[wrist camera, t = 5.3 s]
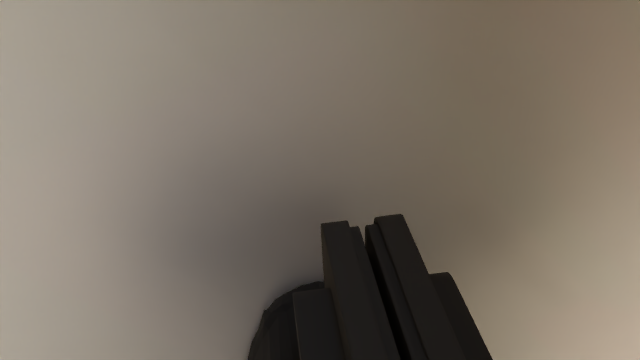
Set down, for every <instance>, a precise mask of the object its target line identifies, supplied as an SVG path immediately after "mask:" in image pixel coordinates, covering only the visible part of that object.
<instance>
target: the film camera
mask: <svg viewBox="0 0 640 360" xmlns="http://www.w3.org/2000/svg"><path fill="white" fill-rule="evenodd" d="M323 288H325V287H324V282H314V283H310V284H306V285H302V286H300V287H298V288H296V289H294V290H292V291H290V292H288V293H286V294H284V295H282V296H281V297H279V298H277V299H275V301H274V302H273V303H272V305H271V306H270V307H269V308H268V309H267V310H264V313H263V316H262V319H261V322H260V325H259V328H258V331H257V333H256V335H255V337H254V339H253V341H252V344H251V348H250V352H249V356H248V360H300V356H299V348H298V339H297V331H296V322H295V312H294V303H293V292H300V291H307V290H315V289H323Z"/></svg>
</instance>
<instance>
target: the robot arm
mask: <svg viewBox="0 0 640 360" xmlns="http://www.w3.org/2000/svg"><path fill="white" fill-rule="evenodd" d="M321 240H322V256H323V271H324V287H325V288H323V289H315V290H307V291H300V292H293V303H294V312H295V322H296V331H297V339H298V348H299V356H300V360H493V359H492V357H491V355H490V353H489V351H488V349H487V347H486V345H485V343H484V341H483V339H482V337H481V335H480V333H479V331H478V329H477V327H476V325H475V323H474V320H473V318H472V316H471V314H470V312H469V310H468V308H467V306H466V304H465V302H464V300H463V298H462V296H461V294H460V292H459V290H458V288H457V286H456V284H455V281H454V280H453V278H452V276H451V275H450V274H449V273H448V272H445V273H437V274H428V271H427V269H426V267H425V265H424V262H423V260H422V258H421V255H420V253H419V251H418V249H417V246H416V244H415V242H414V239H413V237H412V235H411V233H410V230H409V228H408V226H407V223H406V221H405V219H404V217H403V215H402V214H396V215H388V216H380V217H375V218H374V224H372V225H366V227H365V244H364V241H363V238H362V235H361V232H360V229H359V227H358V226H356V227H350V226H349V223H348V221H339V222H330V223H322V224H321Z"/></svg>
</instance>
